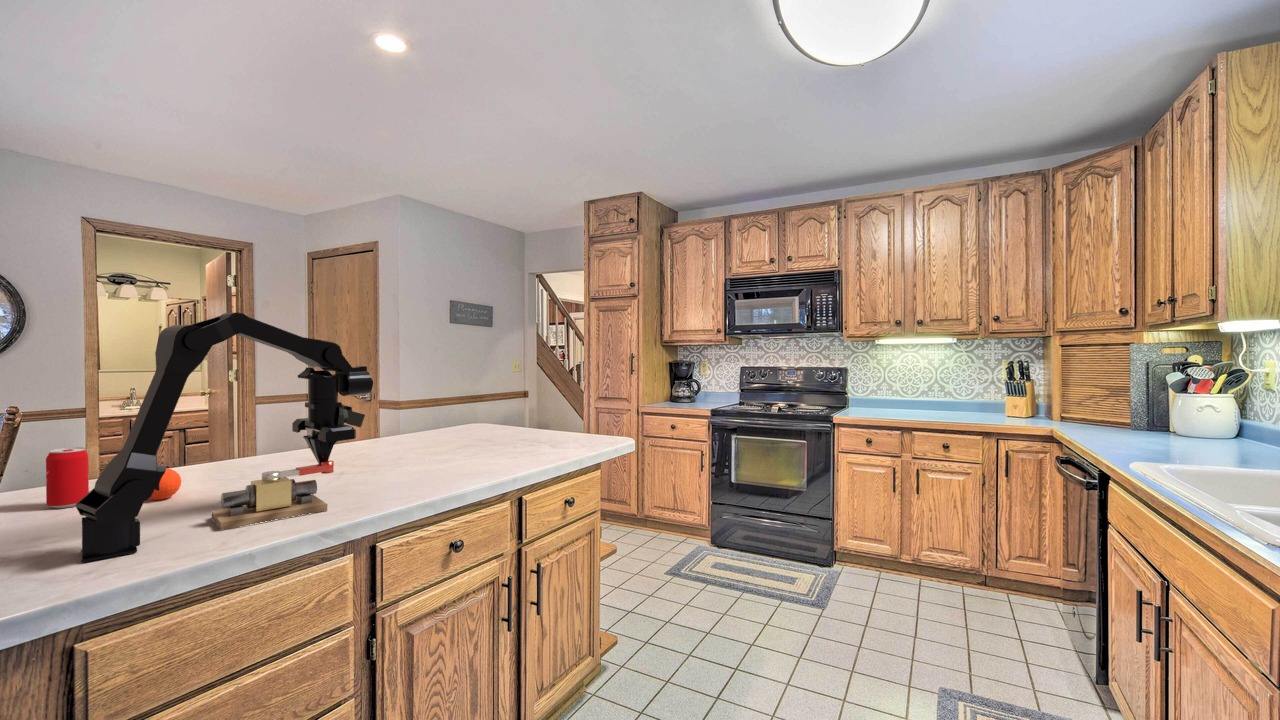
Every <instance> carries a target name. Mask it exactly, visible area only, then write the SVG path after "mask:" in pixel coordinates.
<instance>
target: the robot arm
mask: <svg viewBox="0 0 1280 720" xmlns="http://www.w3.org/2000/svg"><path fill="white" fill-rule="evenodd" d="M234 336H239V337H241V338H245V339H246V340H247V339H248V340H250V341H253V342H256V343H259V344H262V345H265V346H268V347H271V348H274V349H277V350H280V351H282V352H285V353H288V354H290V355H292V356H293V357H294V358H295V359H296V360H298V361H300V362H302V363H303V364H305V365H306V366H309V367H305V369H304V370H303V371H302V372H300V373H299V374H298V375H297V378H298V379H305V380H308V384H307V385H308V401H306V402H304V407H305V408H308V409H307V412H308V417H303V418H296V419H295V420H294V421H293V422H292V427H291V428H292V430H291V431H292V432H293V433H296V434H297V433H300V432H301V431H306V432H307V433H306V435H303V436H302V437H303V439H304V440H305V441H306V444H307V445H308V447H309V449H310V450H311V452H312V454H313V456H314V458H315V460H316V462H317V463H318V464H321V462H322V461H330V460H329V459H330V457H331V453H332V451H333V449H334V446H335V444H336V443H337V442H342V441H349V440H350V441H351V440H355V439H356V438H357V430H356V428H361V427H362V426H363V422H364V420H365V418H366V414H365V413H362V412H357V411H353V409H352V408H353V407H352V406H349V405H345V404H343V403H342V402H341V401H339V395H340V396H343V397H348V396H349V397H350V396H359V395H369V394H370V393H371V392H372V390H373V387H374V380H373V378H372V376H371V374H370V372H369V371H368V366H366V365H356V366H352V365H351V364H350V363H349V361H348V360H347V359H346V357H345V356H344V355H343V350H342V348H341V346H340V345H339V344H338V343H336V342H332V341H326V340H322V339H316V338H309V337H306V336H305V337H304V336H301V335H298V334H295V333H292V332H289V331H287V330H285V329H282V328H279V327H277V326H274V325H271V324H268V323H266V322H264V321H260V320H258V319H255V318H252V317H250V316H248V315H246V314H245V313H243V312H237V311H235V312H225V313H222V314H221V315H218V316H216V317H215V316H214V317H212V318H208V319H205V320H202V321H198V322H195V323H192V324H178V325H177V324H176V325H170V326H168V327H166V328H163V329H162V330H161V332H160V333H159V335H158V339H157V343H156V349H155V353H154V355H155V372H154V375H153V377H152V380H151V381H150V384H149V387H148V389H147V391H146V393H145V396H144V398H143V400H142V403H141V405H140V407H139V409H138V413H137V415H136V417H135V419H134V422H133V424H132V426H131V429H130V430H129V433H128V434H127V438H126V441H124V445H123V447H122V449H120V451H119V452H118V453H117V454H115V456H113V458H112V459H111V460H110V461H108V463H107V464H106V466H105V467H104V469H103V470H102V472H101V473H100V475H99V477H98V478H97V479H96V481H95V484H94V488H92V489H91V490H89V493H88V494H87V495H86V496H84V497H83V498H82V499H81V500H80V501H79V502H77V503H76V505H75V508H76V510H77V512H78V514H79V515H80V516H82V518H81V549H80V562H81V563H87V562H92V561H93V562H94V561H98V560H103V559H108V558H113V557H114V558H115V557H119V556H124V555H125V556H126V555H130V554H134V553H137V552H138V547H139V546H141V521H140V519H139V518H138V516H139V513H140V511H141V509H142V507H143V504H144V502H147V501H148V500H149V499H150V497H151V495H152V494H153V492H154V490H156V491H159V483H160V480H161V478H162V476H163V475H164V473H165V471H166V468H168V467H167V466H164V465H161V464H158V451H159V449H160V446H161V444H162V442H163V439H164V437H165V434H166V431H167V429H168V426H169V424H170V422H171V420H172V418H173V414H174V413H175V409H176V407H177V404H178V402H179V400H180V398H181V395H182V393H183V390H184V387H185V385H186V383H187V380H188V378H189V376H190V375H191V374H193V372H194V371H195V370H196V369H197V368H198V367H199V366H200V365H201V364H202V363H203V361H204V360H205V358H206V356H207V355H208V353H209V352H210V351H211V349H212V347H213V346H215V345H217V344H220V343H223V342H225V341H227V340H229V339H231V338H232V337H234ZM314 368H319V369H321V370H315V369H314ZM331 372H335V373H331ZM353 426H354V427H356V428H354V427H353Z"/></svg>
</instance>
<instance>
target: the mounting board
mask: <svg viewBox="0 0 1280 720" xmlns="http://www.w3.org/2000/svg"><path fill="white" fill-rule="evenodd" d="M311 495H312V503H307V504H302V505H301V504H300V503H299V502H297V497H296V500H295V501H292V502H291V506H287V507H281V508H275V509H269V510H263V511H257V512H256V511H255V510H254V509H253V508H249V509H248V508H247V506H246V505H243V515H237V516H232V517H231V516H230V515H229V514H228V513H227V508H224V509H223V508H220V509H217V510H211V520H212V519H213V520H214V521H215V522H214V521H213V520H212V521H213V522H214V524H215V525H216V524H217V525H218V526H217V525H216V526H217V528H218V529H219V528H220V529H221V530H222V531H224V530H223V529H228V530H231V529H230V528H233V529H236V528H235V527H238V528H241V527H240V526H244V527H246V526H245V525H249V526H251V525H250V524H255V523H260V522H265V521H271V520H275V519H282V518H287V517H292V516H298V515H302V514H309V513H314V514H316V513H315V512H319V513H323V511H325V512H327V511H328V503H327V502H325V501H323V499H320V498H319V497H317V496H316V495H315V494H311ZM321 511H322V512H321ZM309 515H310V514H309ZM298 517H299V516H298ZM292 518H293V517H292ZM287 519H288V518H287ZM282 520H283V519H282ZM271 522H272V521H271ZM265 523H266V522H265ZM260 524H261V523H260ZM255 525H256V524H255ZM220 529H219V530H220ZM221 530H220V531H221Z"/></svg>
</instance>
